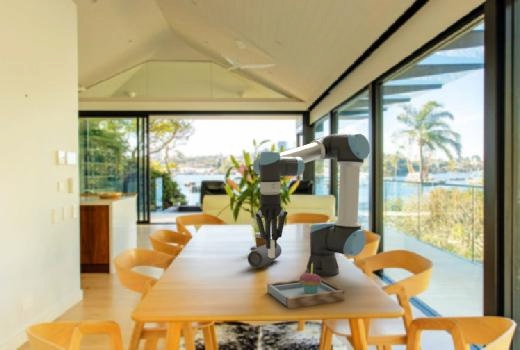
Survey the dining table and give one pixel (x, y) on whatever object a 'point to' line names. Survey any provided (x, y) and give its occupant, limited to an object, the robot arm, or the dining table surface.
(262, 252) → the bluetooth speaker
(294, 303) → the dock
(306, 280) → the cupcake
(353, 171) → the robot arm
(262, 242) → the disposable coffee cup
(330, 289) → the tray
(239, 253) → the dining table surface
